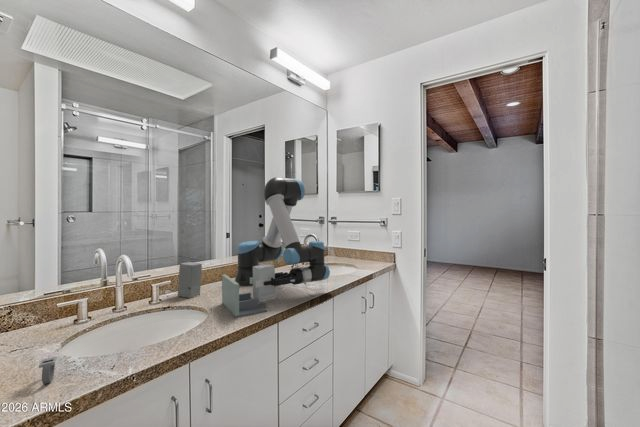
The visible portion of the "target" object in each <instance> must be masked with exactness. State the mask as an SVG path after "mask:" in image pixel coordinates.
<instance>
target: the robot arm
mask: <svg viewBox="0 0 640 427" xmlns="http://www.w3.org/2000/svg"><path fill="white" fill-rule="evenodd" d="M305 192H306V189H305V186H304V183H303V181H301V180H299V179H297V178H290V177H289V178H288V177H280V176H279V177H278V176H277V177H272V178H270V179H269V180H268V181H267V182H266V183H265V186H264V188H263V197H264V198H263V199H264V201H265V204H266V205H267V206H269V208H270V212H271V214H272V218H271V222H270V224H269V228H268V231H267V234H266V235H265V236H264V237H263V238H262V240H261V242H259V241H258V240H248V241H244V242H240V243H239V244H238V246H237V271H236V275H235V278H234V281H236V282H237V283H238V284H239V287H242V286H243V287H248V286H249V287H250V286H253V266H258V265H260V263H267V262H275V261H278V260H280V259H281V258H282V259H283V261H284V263H285V264H286V265H291V266H292V265H299V264H303V263H308V264H309V265H308V266H302V267H294V268H293V267H292V268H291V269H290V270H289V272H286V271H285V272H283V271H280V272H275V279H273V278H271V279H265V280H258V281H255V287H256V288H258V287H264V286H270V285H272V286H273V285H274V286H275V287H278V286H285V285H290V284H292V285H300V284H304V285H306V284H307V283H312V282H321V281H324V280H327V279H329V277H330V275H331V270H330V267H329V265H327V264H325V243H324V242H323V241H321V240H312V241H309V242H308V245H307V246H302V244H301V241H300V239H299V237H298V234H297V232H296V228H295V227H294V224H293V222H292V219H291V216H290V214H291V212H292V209H293V208H294V207H296V206H297V204H298V201H302V200H303V199H304V197H305V194H306V193H305ZM283 245H284V246H283ZM284 248H285V249H284Z"/></svg>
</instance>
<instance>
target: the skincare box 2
mask: <svg viewBox="0 0 640 427" xmlns="http://www.w3.org/2000/svg"><path fill="white" fill-rule="evenodd" d="M275 267H276V266H275V265H274V264H270V263H264V264H259V265H258V266H253V285H252V289H253V290H252V292H253V296H252V298H253V299H255V298H258V299H259V303H261V302H265V301H268V300H273V299H276V286H274V285H273V286H272V285H270V286H264V287H258V288H256V287H255V281H258V280H265V279H271V278H273V279H275V273H276V268H275Z"/></svg>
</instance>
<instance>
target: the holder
mask: <svg viewBox="0 0 640 427" xmlns="http://www.w3.org/2000/svg"><path fill="white" fill-rule="evenodd" d="M221 304H222V306H224V308H225V309H226V310H227V311H228V312H229V313H230V314H231V315H232V316H233V317H234V319H238V318H242V317H246V316H251V315H257V314H261V313H262V314H263V313H266V312H268V308H266V307H265V306H263V305H262V304H261V303H260V302H259V299H258V298H255V299H253V297H252V293H251V292H245V293H240V285H239V284H238V283H237V282H236V281H235V279H233V278H231V277H230V276H228V275H227V274H222V275H221Z"/></svg>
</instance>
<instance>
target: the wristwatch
mask: <svg viewBox="0 0 640 427" xmlns="http://www.w3.org/2000/svg"><path fill="white" fill-rule="evenodd" d="M57 359H58V356H52V357H48V358H44V359H42V360H41V361H40V363H39V365H38V369H41V370H42V371H41V383H42V384H43V385H46V384H50V383H52V382H53V379H54V376H55V367H56V366H55V364H56V362H57Z"/></svg>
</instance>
